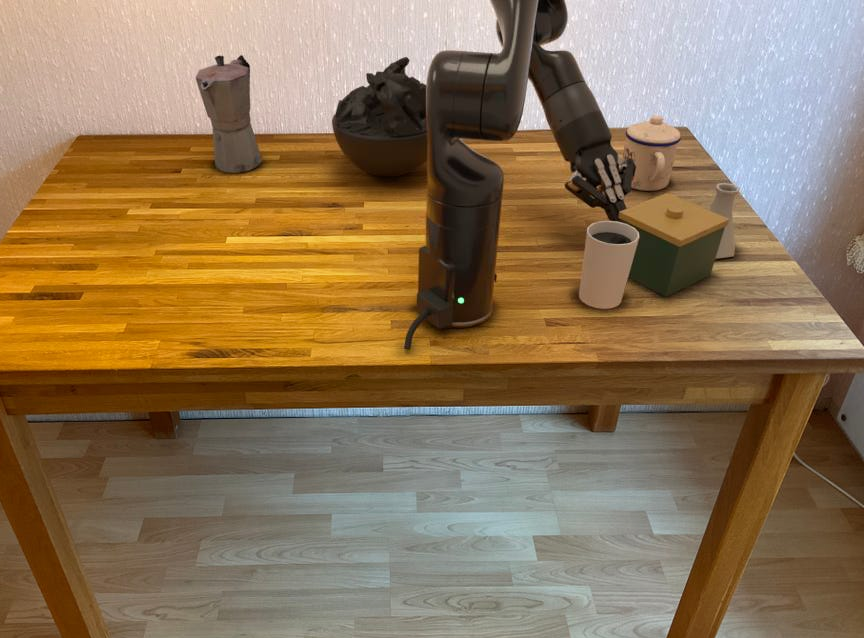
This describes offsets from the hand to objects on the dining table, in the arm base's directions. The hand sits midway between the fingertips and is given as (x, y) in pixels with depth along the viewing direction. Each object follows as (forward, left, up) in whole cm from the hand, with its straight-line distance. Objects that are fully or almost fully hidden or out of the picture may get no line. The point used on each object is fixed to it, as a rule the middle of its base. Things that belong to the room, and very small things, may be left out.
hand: (623, 227), depth 110 cm
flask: (+12, -7, -4) cm, 15 cm away
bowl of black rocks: (-12, +45, -4) cm, 46 cm away
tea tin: (0, -7, -4) cm, 9 cm away
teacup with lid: (+22, +14, -4) cm, 26 cm away
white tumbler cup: (-12, -7, -4) cm, 15 cm away
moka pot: (-33, +65, -4) cm, 73 cm away
